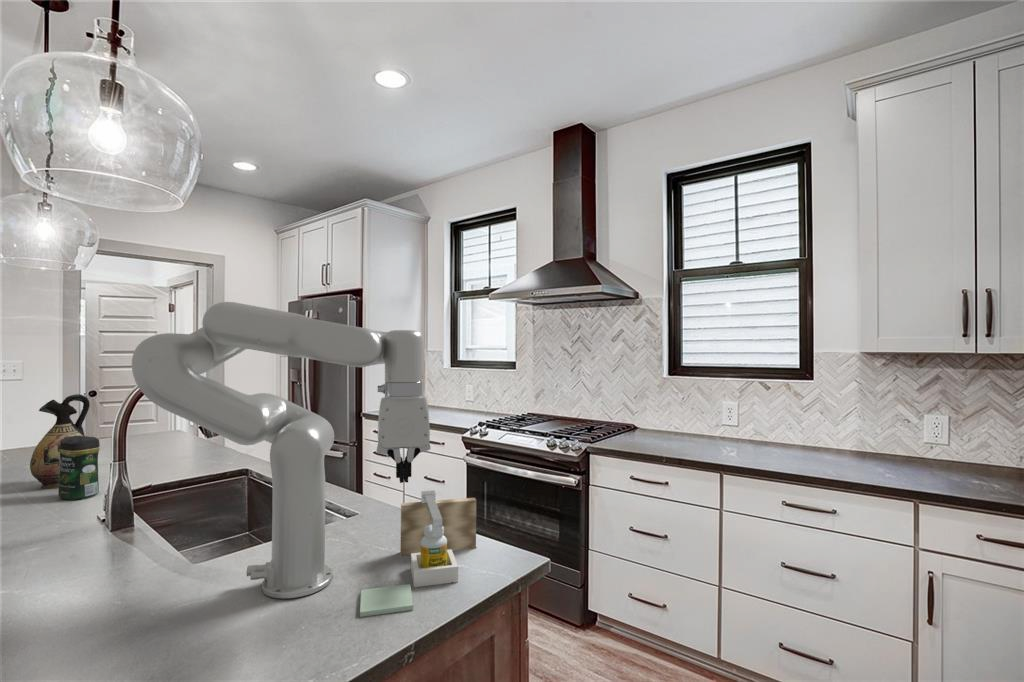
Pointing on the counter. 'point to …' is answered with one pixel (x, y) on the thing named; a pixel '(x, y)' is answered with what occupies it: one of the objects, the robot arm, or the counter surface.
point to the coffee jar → (78, 467)
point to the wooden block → (454, 520)
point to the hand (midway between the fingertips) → (403, 480)
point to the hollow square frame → (433, 571)
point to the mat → (386, 600)
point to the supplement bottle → (433, 549)
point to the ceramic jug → (56, 440)
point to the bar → (432, 511)
